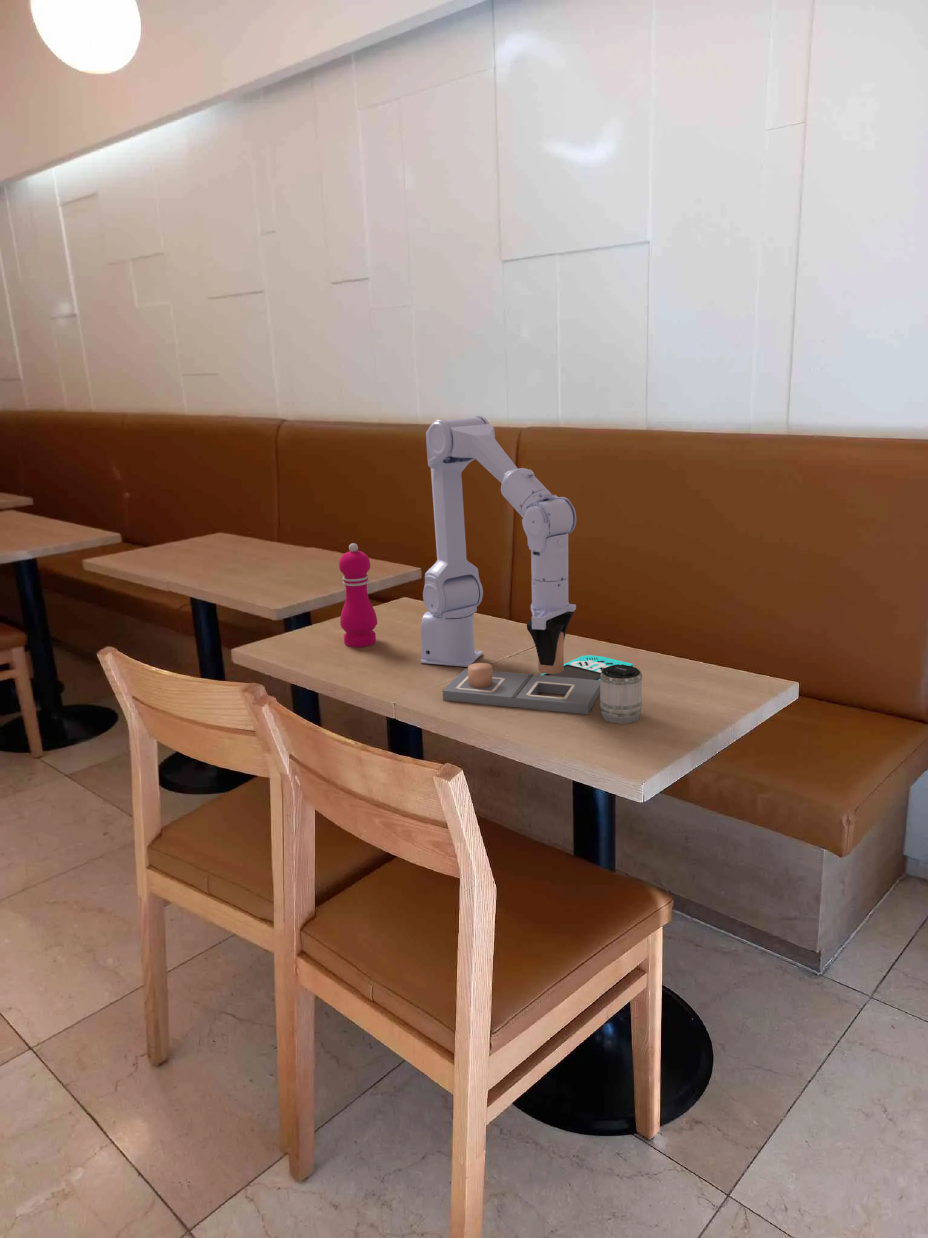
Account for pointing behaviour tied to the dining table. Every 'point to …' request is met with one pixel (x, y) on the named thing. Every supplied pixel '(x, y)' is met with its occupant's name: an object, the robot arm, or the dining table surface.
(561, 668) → the terracotta pin
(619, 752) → the dining table surface
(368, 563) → the pepper mill
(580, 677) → the handheld game console
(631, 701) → the camera lens
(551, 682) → the board
